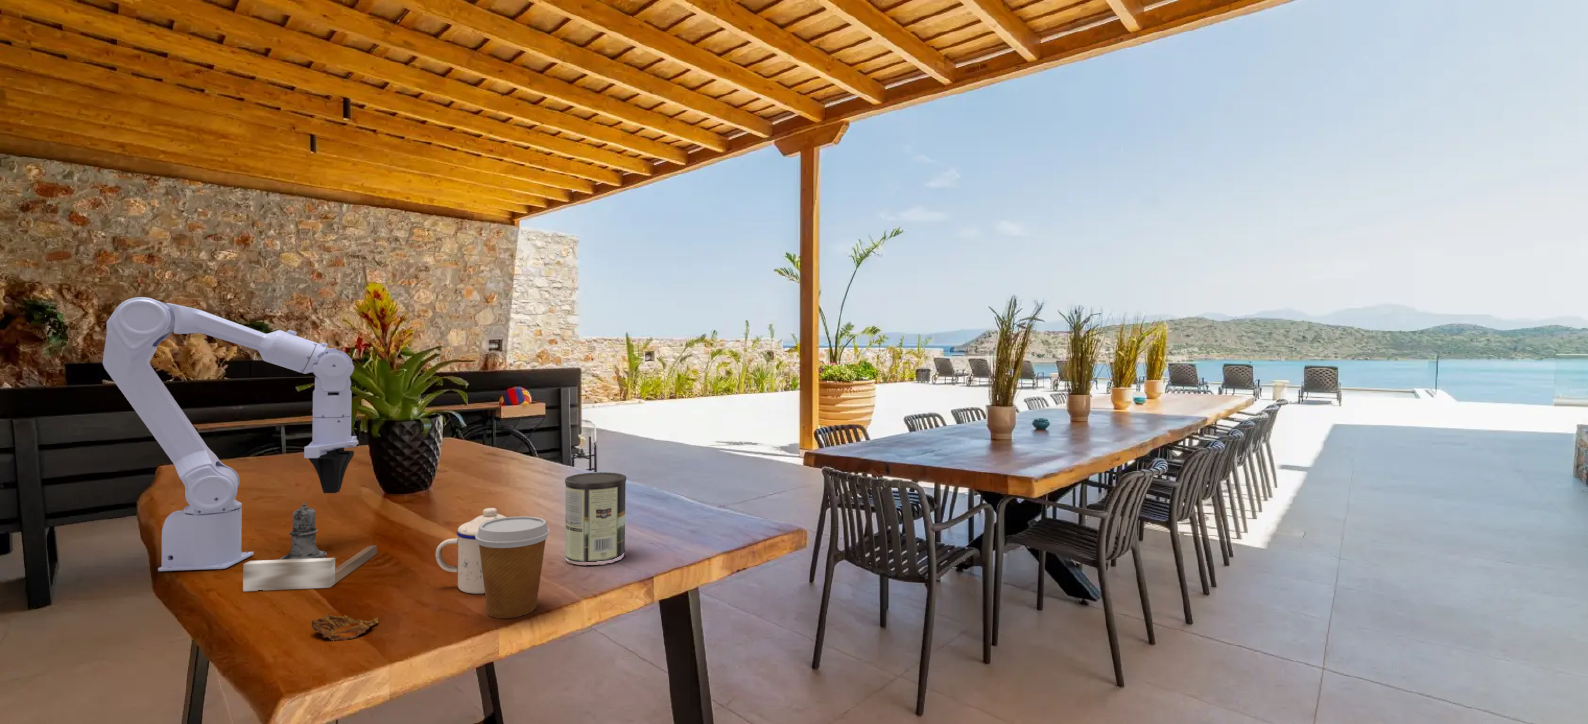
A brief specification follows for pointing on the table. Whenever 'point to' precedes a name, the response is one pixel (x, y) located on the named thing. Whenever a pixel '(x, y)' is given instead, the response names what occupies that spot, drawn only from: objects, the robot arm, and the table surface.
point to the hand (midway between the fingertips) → (331, 492)
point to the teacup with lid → (468, 554)
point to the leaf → (335, 622)
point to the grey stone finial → (304, 535)
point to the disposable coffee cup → (512, 563)
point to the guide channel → (300, 572)
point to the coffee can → (595, 517)
